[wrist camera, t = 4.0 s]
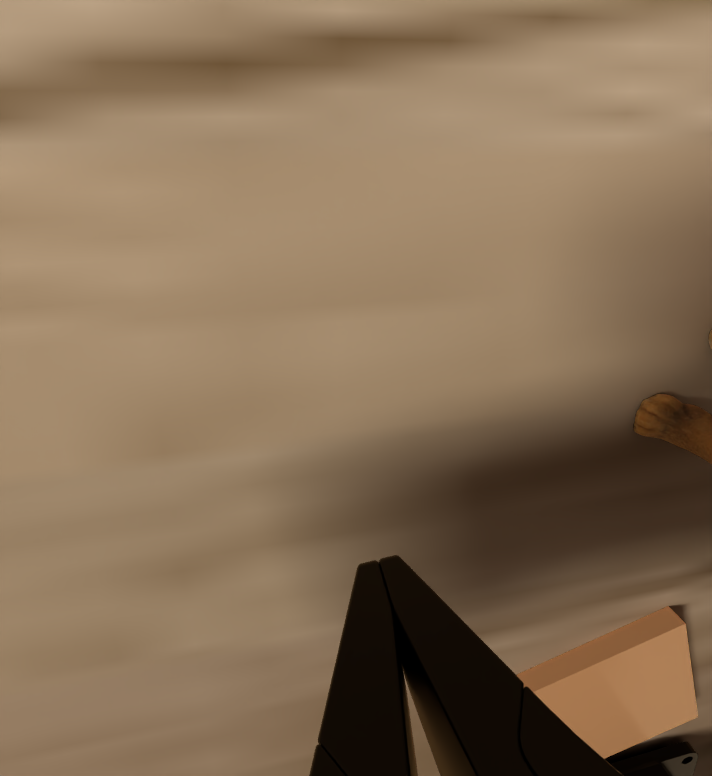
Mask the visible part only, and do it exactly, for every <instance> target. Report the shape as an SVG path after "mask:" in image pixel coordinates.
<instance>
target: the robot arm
mask: <svg viewBox="0 0 712 776" xmlns="http://www.w3.org/2000/svg"><path fill="white" fill-rule="evenodd" d="M403 671H404V673H403ZM404 675H405V678H406V681H407V684H408V687H409V690H410V693H411V696H412V699H413V701H414V704H415V707H416V710H417V712H418V715H419V718H420V721H421V723H422V726H423V729H424V732H425V734H426V737H427V740H428V743H429V745H430V748H431V751H432V753H433V756H434V759H435V762H436V764H437V767H438V770H439V773H440V775H441V776H693V773H694V770H695V766H696V763H697V759H698V754H697V753H696V751H695V750H694V749H693V747H692V746H691V745H690V744H689V743H688V742H681V743H678V744H674V745H671V746H668V747H664V748H661V749H658V750H654V751H651V752H648V753H644V754H641V755H638V756H634V757H631V758H628V759H624V760H621V761H618V762H614V763H611V764H609V763H608V762H607V761H606V760H605V759H604V758H603V757H601V756H600V755H599V754H598V753H597V752H596V751H595V750H593V749H592V748H591V747H590V746H589V745H588V744H587V743H585V742H584V741H583V740H582V739H581V738H580V737H579V736H578V735H576V734H575V733H574V732H573V731H572V730H571V729H570V728H569V727H568V726H567V725H566V724H565V723H564V722H563V721H562V720H561V719H560V718H559V717H558V716H557V715H556V714H555V713H554V712H553V711H551V710H550V709H549V708H548V707H547V706H546V705H545V704H544V703H543V702H542V701H541V700H540V699H539V698H538V697H537V696H536V694H535V693H534V692H533V691H532V690H531V689H530V688H529V687H527V686H526V687H524V683H523V682H522V681H521V680H520V679H519V678H518V676H517V675H516V674H515V673H514V672H513V671H512V670H511V669H510V668H509V667H508V666H507V665H506V664H505V663H504V662H503V661H502V660H501V659H500V658H499V657H498V656H497V655H496V654H495V653H494V652H493V651H492V650H491V649H490V648H489V647H488V646H487V645H486V644H485V643H484V642H483V641H482V640H481V639H480V638H479V637H478V636H477V635H476V634H475V633H474V632H473V631H472V630H471V629H470V628H469V627H468V626H467V625H466V624H465V623H464V622H463V621H462V620H461V619H460V618H459V617H458V616H457V614H456V613H455V612H454V611H453V610H452V609H451V608H450V607H449V606H448V605H447V604H446V603H445V602H444V601H443V600H442V599H441V598H440V597H439V596H438V595H437V594H436V593H435V592H434V591H433V590H432V589H431V588H430V587H429V586H428V585H427V584H426V583H425V582H424V581H423V580H422V579H421V578H420V577H419V576H418V575H417V574H416V573H415V572H414V571H413V570H412V569H411V568H410V567H409V566H408V565H407V564H406V563H405V562H404V561H403V560H402V559H401V558H400V557H399V556H397V555H394V556H390V557H386V558H382V559H380V560H379V563H378V561H376V560H374V561H370V562H366V563H362V564H359V566H358V568H357V571H356V576H355V580H354V584H353V589H352V593H351V598H350V602H349V606H348V611H347V615H346V619H345V624H344V628H343V632H342V637H341V641H340V645H339V650H338V654H337V659H336V663H335V667H334V672H333V676H332V680H331V685H330V689H329V693H328V698H327V702H326V706H325V711H324V715H323V720H322V724H321V728H320V733H319V737H318V743H319V745H317V746H316V749H315V753H314V758H313V762H312V766H311V771H310V775H309V776H418V773H417V765H416V758H415V750H414V743H413V736H412V728H411V721H410V713H409V706H408V698H407V691H406V685H405V679H404Z"/></svg>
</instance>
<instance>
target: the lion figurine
mask: <svg viewBox="0 0 712 776" xmlns="http://www.w3.org/2000/svg"><path fill="white" fill-rule="evenodd" d="M709 345H710V347H711V350H712V330H711V331H710V333H709ZM633 429H634V431H635V432H636V433H638V434H640V435H643V436H647V437H655V438H659V439H663V440H665V441H667V442H670V443H672V444H674V445H676V446H678V447H681V448H683V449H686V450H688V451H690V452H692V453H694V454H696V455H698V456H699V457H701V458H703V459H704V460H706V461H707V462H709V463H710V464H712V415H711V414H709V413H708V412H706V411H705V410H703V409H702V408H700V407H698V406H696V405H692V404H684V403H681V402H680V401H679V400H677V399H676V398H674V397H673V396H671V395H666V394H656V395H654V396H652V397H650V398H648V399H645V400H643V402H642V403H641V405H640V408H639V409H638V411H637V413H636V417H635V423H634V425H633Z"/></svg>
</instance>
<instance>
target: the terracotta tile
mask: <svg viewBox="0 0 712 776" xmlns="http://www.w3.org/2000/svg"><path fill="white" fill-rule="evenodd" d="M517 676H518V678H519V679H520V680H521V681H522V682H523V683H524V687H526V686H527V687H529V688H530V689H531V690H532V691H533V692H534V693H535V694H536V696H537V697H538V698H539V699H540V700H541V701H542V702H543V703H544V704H545V705H546V706H547V707H548V708H549V709H550V710H551V711H553V712H554V713H555V714H556V715H557V716H558V717H559V718H560V719H561V720H562V721H563V722H564V723H565V724H566V725H567V726H568V727H569V728H570V729H571V730H572V731H573V732H574V733H575V734H576V735H578V736H579V737H580V738H581V739H582V740H583V741H584V742H585V743H587V744H588V745H589V746H590V747H591V748H592V749H593V750H595V751H596V752H597V753H598V754H599V755H600V756H601V757H603V758H604V759H605V758H607V757H609V756H611V755H614V754H616V753H618V752H620V751H623V750H625V749H627V748H629V747H632V746H634V745H636V744H638V743H641V742H643V741H645V740H647V739H650V738H652V737H654V736H656V735H659V734H661V733H663V732H665V731H668V730H670V729H672V728H674V727H677V726H679V725H681V724H683V723H686V722H688V721H690V720H692V719H694V718H697V717H698V713H697V705H696V698H695V690H694V683H693V675H692V668H691V660H690V653H689V645H688V638H687V630H686V623H685V622H684V621H683V620H682V619H681V618H680V617H679V616H678V615H677V614H676V613H675V612H674V611H673V610H672V609H671V608H670V607H669V606H667V607H665V608H663V609H661V610H658V611H656V612H654V613H652V614H650V615H647V616H645V617H643V618H641V619H639V620H636V621H634V622H632V623H630V624H627V625H625V626H623V627H621V628H619V629H616V630H614V631H612V632H610V633H608V634H605V635H603V636H601V637H599V638H597V639H594V640H592V641H590V642H588V643H586V644H583V645H581V646H579V647H577V648H575V649H572V650H570V651H568V652H566V653H564V654H561V655H559V656H557V657H555V658H552V659H550V660H548V661H546V662H544V663H541V664H539V665H537V666H535V667H533V668H530V669H528V670H526V671H524V672H522V673H519V674H517Z"/></svg>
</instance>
